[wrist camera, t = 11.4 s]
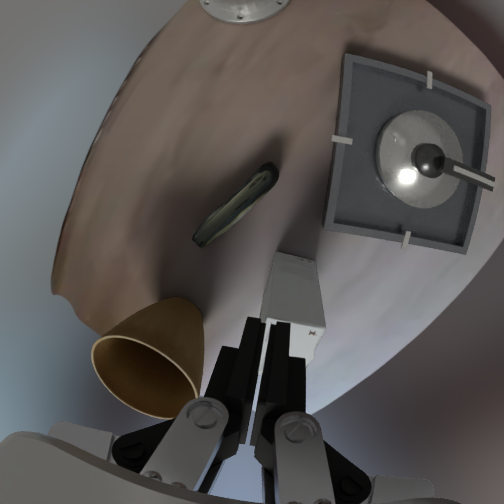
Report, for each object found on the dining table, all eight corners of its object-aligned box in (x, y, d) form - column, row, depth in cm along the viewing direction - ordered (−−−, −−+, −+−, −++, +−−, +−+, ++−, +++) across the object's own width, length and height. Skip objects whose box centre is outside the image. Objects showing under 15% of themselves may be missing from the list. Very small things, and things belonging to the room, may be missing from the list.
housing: (336, 53, 27) (340, 46, 25) (484, 103, 25) (496, 102, 22) (315, 228, 36) (317, 235, 34) (459, 253, 34) (468, 260, 31)
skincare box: (275, 249, 38) (264, 311, 25) (318, 260, 38) (329, 325, 24) (261, 301, 42) (246, 373, 28) (301, 310, 41) (301, 385, 28)
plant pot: (224, 356, 47) (200, 430, 32) (146, 339, 48) (106, 400, 34) (228, 282, 41) (194, 356, 26) (137, 267, 43) (78, 322, 28)
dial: (367, 193, 32) (380, 202, 27) (382, 99, 27) (397, 93, 22) (463, 219, 31) (483, 231, 26) (478, 137, 26) (502, 139, 21)
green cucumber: (264, 159, 30) (178, 247, 35) (283, 178, 30) (195, 264, 35) (267, 157, 34) (190, 235, 39) (284, 174, 35) (206, 250, 40)
